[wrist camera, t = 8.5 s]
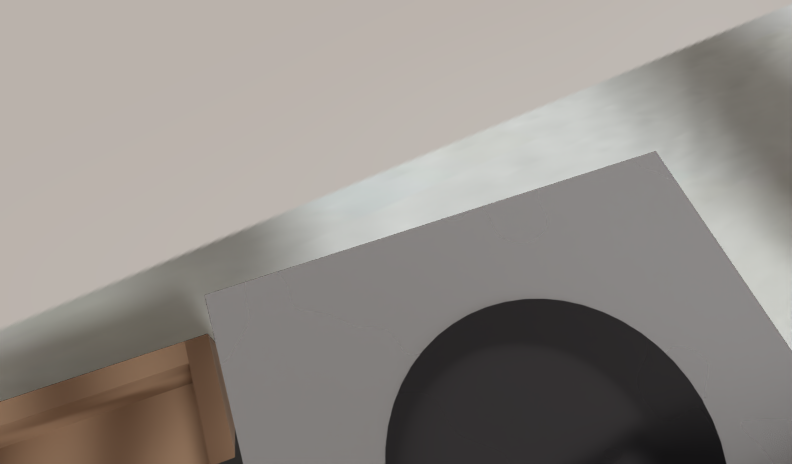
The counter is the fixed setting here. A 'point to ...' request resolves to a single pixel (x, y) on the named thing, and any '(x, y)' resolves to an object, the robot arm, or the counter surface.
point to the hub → (514, 340)
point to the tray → (127, 413)
